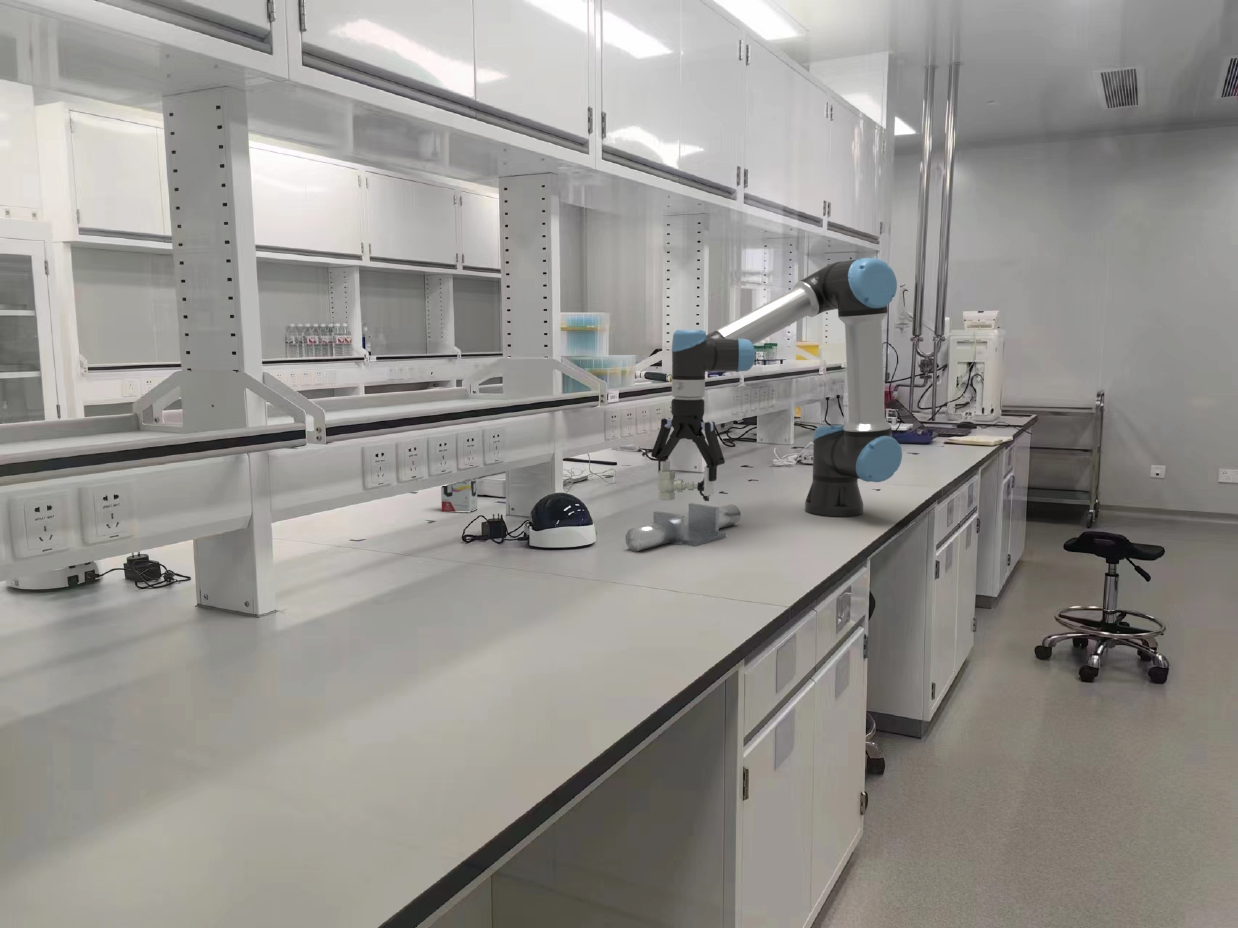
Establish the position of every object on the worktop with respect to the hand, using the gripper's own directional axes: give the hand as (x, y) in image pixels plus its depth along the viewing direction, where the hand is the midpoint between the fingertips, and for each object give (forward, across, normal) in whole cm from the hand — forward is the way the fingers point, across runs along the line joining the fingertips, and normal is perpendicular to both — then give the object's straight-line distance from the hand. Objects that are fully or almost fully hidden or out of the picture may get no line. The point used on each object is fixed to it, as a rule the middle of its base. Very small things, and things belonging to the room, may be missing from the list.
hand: (686, 491), depth 203 cm
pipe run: (+11, 0, 0) cm, 11 cm away
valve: (+2, -1, 0) cm, 2 cm away
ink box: (+11, -64, -16) cm, 67 cm away
